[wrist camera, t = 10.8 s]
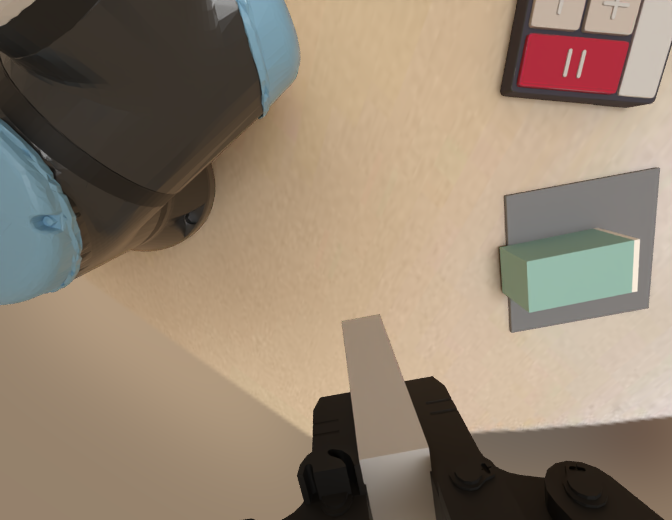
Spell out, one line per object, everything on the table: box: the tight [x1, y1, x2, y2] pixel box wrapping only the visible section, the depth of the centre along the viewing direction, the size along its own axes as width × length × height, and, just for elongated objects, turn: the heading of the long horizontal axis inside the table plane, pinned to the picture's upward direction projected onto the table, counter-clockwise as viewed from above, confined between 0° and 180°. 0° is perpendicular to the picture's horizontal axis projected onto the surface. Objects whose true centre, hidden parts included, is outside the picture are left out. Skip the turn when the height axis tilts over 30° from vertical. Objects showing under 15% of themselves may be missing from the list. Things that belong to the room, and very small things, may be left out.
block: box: [500, 228, 640, 313], centre depth 42 cm, size 6×6×12 cm
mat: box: [504, 168, 660, 333], centre depth 45 cm, size 18×18×1 cm
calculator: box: [500, 0, 672, 108], centre depth 37 cm, size 11×4×15 cm
